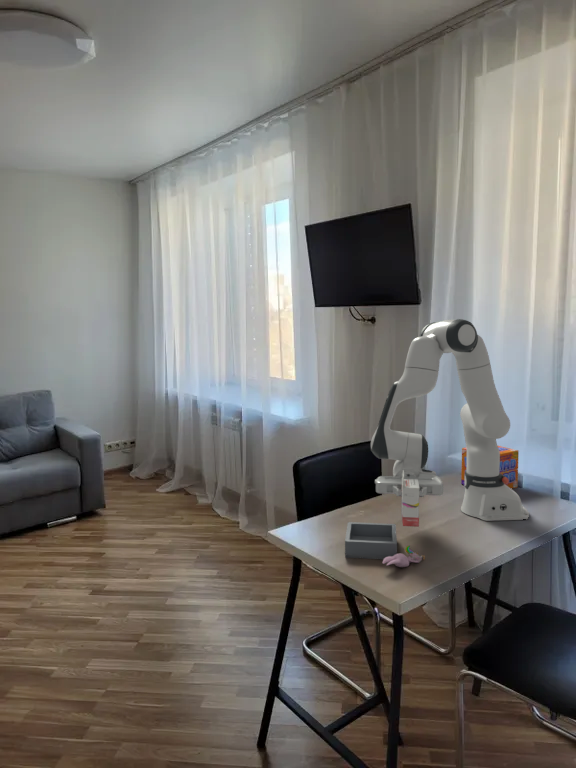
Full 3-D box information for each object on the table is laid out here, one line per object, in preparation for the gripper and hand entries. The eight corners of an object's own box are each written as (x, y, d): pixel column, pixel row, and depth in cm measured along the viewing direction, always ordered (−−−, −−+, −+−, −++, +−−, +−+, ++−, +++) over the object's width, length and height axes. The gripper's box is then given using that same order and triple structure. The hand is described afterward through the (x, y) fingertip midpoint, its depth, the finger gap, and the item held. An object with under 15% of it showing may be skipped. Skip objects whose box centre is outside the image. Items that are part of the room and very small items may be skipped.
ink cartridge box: (419, 527, 158) (420, 478, 156) (402, 526, 159) (402, 477, 157) (417, 516, 167) (418, 469, 165) (401, 515, 168) (401, 468, 165)
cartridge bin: (395, 539, 174) (395, 524, 173) (396, 560, 159) (397, 543, 159) (348, 536, 176) (347, 522, 176) (345, 557, 162) (344, 541, 161)
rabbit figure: (412, 560, 162) (375, 566, 154) (414, 540, 162) (378, 545, 153) (428, 567, 157) (392, 574, 148) (431, 547, 157) (394, 552, 148)
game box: (491, 494, 214) (492, 455, 212) (460, 484, 227) (461, 447, 225) (517, 488, 221) (519, 450, 219) (486, 478, 235) (487, 442, 233)
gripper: (374, 469, 176) (374, 482, 163) (440, 471, 173) (445, 485, 159) (374, 488, 177) (374, 503, 163) (440, 490, 174) (445, 505, 160)
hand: (410, 494), depth 161 cm, fingers closed on ink cartridge box, 5 cm apart
